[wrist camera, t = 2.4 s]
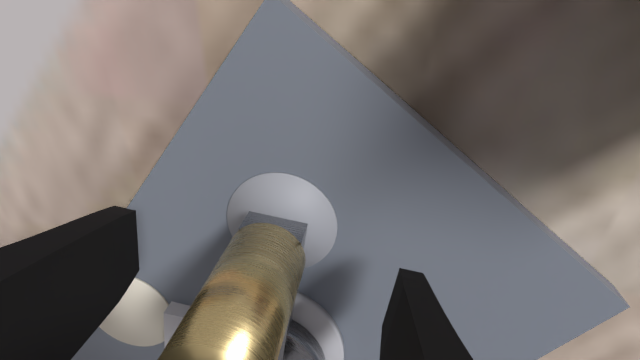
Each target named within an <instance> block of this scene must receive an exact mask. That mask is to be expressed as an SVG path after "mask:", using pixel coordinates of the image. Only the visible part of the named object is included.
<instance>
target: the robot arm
mask: <svg viewBox="0 0 640 360" xmlns="http://www.w3.org/2000/svg"><path fill="white" fill-rule="evenodd" d="M138 272H139V254H138V237H137V221H136V210H131V209H127V208H122V207H117V206H113V207H109V208H106V209H103V210H100V211H98V212H95V213H92V214H89V215H87V216H84V217H81V218H79V219H76V220H74V221H71V222H69V223H66V224H63V225H61V226H58V227H56V228H53V229H50V230H48V231H45V232H43V233H40V234H37V235H35V236H32V237H29V238H27V239H24V240H21V241H18V242H15V243H12V244H10V245H7V246H4V247H1V248H0V360H71V359H72V358H73V356H74V355H75V354H76V353H77V352H78V351H79V349H80V348H81V347H82V346H83V345H84V343H85V342H86V341H87V340H88V339H89V338H90V336H91V335H92V334H93V333H94V332H95V330H96V329H97V328H98V327H99V326H100V325H101V323H102V322H103V321H104V320H105V319H106V317H107V316H108V315H109V314H110V313H111V311H112V310H113V309H114V308H115V306H116V305H117V304H118V303H119V301H120V300H121V298H122V297H123V295H124V294H125V292H126V291H127V289H128V288H129V286H130V285H131V283H132V281H133V280H134V278H135V277H136V275H137V273H138ZM380 360H473V358H472V357H471V355H470V354H469V352H468V350H467V349H466V347H465V346H464V344H463V342H462V341H461V339H460V338H459V336H458V334H457V333H456V331H455V329H454V328H453V326H452V324H451V323H450V321H449V319H448V317H447V316H446V314H445V312H444V310H443V308H442V307H441V305H440V303H439V301H438V299H437V297H436V296H435V294H434V292H433V290H432V288H431V286H430V284H429V282H428V280H427V279H426V277H425V275H424V274H423V273H421V272H416V271H412V270H407V269H402V268H399V271H398V275H397V278H396V281H395V285H394V288H393V291H392V294H391V298H390V301H389V304H388V308H387V311H386V314H385V317H384V321H383V324H382V333H381V345H380Z"/></svg>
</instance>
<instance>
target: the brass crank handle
mask: <svg viewBox="0 0 640 360" xmlns="http://www.w3.org/2000/svg"><path fill="white" fill-rule="evenodd" d="M307 226H308V224H307V223H302V222H298V221H293V220H288V219H284V218H279V217H274V216H270V215H265V214H260V213H256V212H251V211H249V212H248V214H247V215H246V217H245V218H244V220H243V222H242V223H241V225H240V227H239V228H238V231H237V232H236V234H235V235H234V236H233V238H232V239H231V241H230V243H229V244H228V246H227V248H226V249H225V251H224V252H223V254H222V256H221V257H220V259H219V261H218V262H217V264H216V265H215V267H214V269H213V270H212V272H211V274H210V275H209V277H208V279H207V280H206V282H205V283H204V285H203V287H202V288H201V290H200V292H199V293H198V295H197V296H196V298H195V300H194V301H193V303H192V305H191V306H190V308H189V309H188V311H187V313H186V314H185V316H184V318H183V319H182V321H181V322H180V324H179V326H178V327H177V329H176V331H175V332H174V334H173V335H172V337H171V339H170V340H169V342H168V344H167V345H166V347H165V348H164V350H163V352H162V353H161V355H160V357H159V358H158V360H325V356H324V353H323V350H322V348H321V346H320V345H319V343H318V341H317V340H316V339H315V337H314V336H313V335H312V334H311V333H310V332H309V331H308V330H307V329H306V328H304V327H303V326H302V325H301V324H299V323H298V322H296V321H294V320H293V319H292V317H293V311H294V305H295V299H296V295H297V291H298V288H299V284H300V281H301V278H302V274H303V271H304V267H305V261H306V260H305V253H304V244H305V238H306V232H307Z"/></svg>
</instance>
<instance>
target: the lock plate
mask: <svg viewBox="0 0 640 360" xmlns="http://www.w3.org/2000/svg"><path fill="white" fill-rule="evenodd" d="M127 209H131V210H136V221H137V237H138V254H139V272H138V273H137V275H136V277H135V278H134V280H133V281H132V283H131V285H130V286H129V288H128V289H127V291H126V292H125V294H124V295H123V297H122V298H121V300H120V301H119V303H118V304H117V305H116V306H115V308H114V309H113V310H112V311H111V313H110V314H109V315H108V316H107V317H106V319H105V320H104V321H103V322H102V323H101V325H100V326H99V327H98V328H97V329H96V330H95V332H94V333H93V334H92V335H91V336H90V338H89V339H88V340H87V341H86V342H85V343H84V345H83V346H82V347H81V348H80V349H79V351H78V352H77V353H76V354H75V355H74V356H73V358H72V359H71V360H158V358H159V357H160V355H161V353H162V352H163V350H164V348H165V347H166V345H167V344H168V342H169V340H170V339H171V337H172V335H173V334H174V332H175V331H176V329H177V327H178V326H179V324H180V322H181V321H182V319H183V318H184V316H185V314H186V313H187V311H188V309H189V308H190V306H191V305H192V303H193V301H194V300H195V298H196V296H197V295H198V293H199V292H200V290H201V288H202V287H203V285H204V283H205V282H206V280H207V279H208V277H209V275H210V274H211V272H212V270H213V269H214V267H215V265H216V264H217V262H218V261H219V259H220V257H221V256H222V254H223V252H224V251H225V249H226V248H227V246H228V244H229V243H230V241H231V239H232V238H233V236H234V235H235V234H236V232H237V231H238V228H239V227H240V225H241V223H242V222H243V220H244V218H245V217H246V215H247V214H248V212H249V211H251V212H256V213H260V214H265V215H270V216H274V217H279V218H284V219H288V220H293V221H298V222H302V223H307V224H308V226H307V232H306V238H305V244H304V253H305V260H306V261H305V267H304V271H303V274H302V278H301V281H300V284H299V288H298V291H297V295H296V299H295V305H294V311H293V317H292V319H293V320H294V321H296V322H298V323H299V324H301V325H302V326H303V327H304V328H306V329H307V330H308V331H309V332H310V333H311V334H312V335H313V336H314V337H315V339H316V340H317V341H318V343H319V345H320V346H321V348H322V350H323V353H324V356H325V360H380V345H381V333H382V324H383V321H384V317H385V314H386V311H387V308H388V304H389V301H390V298H391V294H392V291H393V288H394V285H395V281H396V278H397V275H398V271H399V268H402V269H407V270H412V271H416V272H421V273H423V274H424V275H425V277H426V279H427V280H428V282H429V284H430V286H431V288H432V290H433V292H434V294H435V296H436V297H437V299H438V301H439V303H440V305H441V307H442V308H443V310H444V312H445V314H446V316H447V317H448V319H449V321H450V323H451V324H452V326H453V328H454V329H455V331H456V333H457V334H458V336H459V338H460V339H461V341H462V342H463V344H464V346H465V347H466V349H467V350H468V352H469V354H470V355H471V357H472V358H473V360H537V359H539V358H540V357H542V356H544V355H546V354H547V353H549V352H551V351H553V350H555V349H556V348H558V347H560V346H562V345H563V344H565V343H567V342H569V341H570V340H572V339H574V338H576V337H578V336H579V335H581V334H583V333H585V332H586V331H588V330H590V329H592V328H594V327H595V326H597V325H599V324H601V323H602V322H604V321H606V320H608V319H610V318H611V317H613V316H615V315H617V314H618V313H620V312H622V311H624V310H625V309H627V308H629V307H630V306H629V305H628V304H627V303H626V301H625V300H624V299H623V297H622V296H621V295H620V293H619V292H618V291H617V289H616V288H615V287H614V285H612V284H611V283H610V282H609V281H608V280H607V279H606V278H605V277H603V276H602V275H601V274H600V273H599V272H598V271H597V270H595V269H594V268H593V267H592V266H591V265H590V264H589V263H587V262H586V261H585V260H584V259H583V258H582V257H581V256H580V255H578V254H577V253H576V252H575V251H574V250H573V249H572V248H570V247H569V246H568V245H567V244H566V243H565V242H564V241H562V240H561V239H560V238H559V237H558V236H557V235H556V234H554V233H553V232H552V231H551V230H550V229H549V228H548V227H547V226H545V225H544V224H543V223H542V222H541V221H540V220H539V219H537V218H536V217H535V216H534V215H533V214H532V213H531V212H529V211H528V210H527V209H526V208H525V207H524V206H523V205H522V204H520V203H519V202H518V201H517V200H516V199H515V198H514V197H512V196H511V195H510V194H509V193H508V192H507V191H506V190H504V189H503V188H502V187H501V186H500V185H499V184H498V183H497V182H495V181H494V180H493V179H492V178H491V177H490V176H489V175H487V174H486V173H485V172H484V171H483V170H482V169H481V168H479V167H478V166H477V165H476V164H475V163H474V162H473V161H471V160H470V159H469V158H468V157H467V156H466V155H465V154H464V153H462V152H461V151H460V150H459V149H458V148H457V147H456V146H454V145H453V144H452V143H451V142H450V141H449V140H448V139H446V138H445V137H444V136H443V135H442V134H441V133H440V132H439V131H437V130H436V129H435V128H434V127H433V126H432V125H431V124H429V123H428V122H427V121H426V120H425V119H424V118H423V117H421V116H420V115H419V114H418V113H417V112H416V111H415V110H413V109H412V108H411V107H410V106H409V105H408V104H407V103H406V102H404V101H403V100H402V99H401V98H400V97H399V96H398V95H396V94H395V93H394V92H393V91H392V90H391V89H390V88H388V87H387V86H386V85H385V84H384V83H383V82H382V81H381V80H379V79H378V78H377V77H376V76H375V75H374V74H373V73H371V72H370V71H369V70H368V69H367V68H366V67H365V66H363V65H362V64H361V63H360V62H359V61H358V60H357V59H356V58H354V57H353V56H352V55H351V54H350V53H349V52H348V51H346V50H345V49H344V48H343V47H342V46H341V45H340V44H338V43H337V42H336V41H335V40H334V39H333V38H332V37H330V36H329V35H328V34H327V33H326V32H325V31H324V30H323V29H321V28H320V27H319V26H318V25H317V24H316V23H315V22H313V21H312V20H311V19H310V18H309V17H308V16H307V15H305V14H304V13H303V12H302V11H301V10H300V9H299V8H298V7H296V6H295V5H294V4H293V3H292V2H291V1H290V0H264V2H263V3H262V5H261V6H260V8H259V9H258V11H257V12H256V14H255V15H254V17H253V18H252V20H251V21H250V23H249V24H248V26H247V27H246V29H245V30H244V32H243V33H242V35H241V36H240V38H239V39H238V41H237V42H236V44H235V45H234V47H233V48H232V50H231V51H230V53H229V54H228V56H227V58H226V59H225V61H224V62H223V64H222V65H221V67H220V68H219V70H218V71H217V73H216V74H215V76H214V77H213V79H212V80H211V82H210V83H209V85H208V86H207V88H206V89H205V91H204V92H203V94H202V95H201V97H200V98H199V100H198V101H197V103H196V104H195V106H194V107H193V109H192V110H191V112H190V113H189V115H188V116H187V118H186V119H185V121H184V123H183V124H182V126H181V127H180V129H179V130H178V132H177V133H176V135H175V136H174V138H173V139H172V141H171V142H170V144H169V145H168V147H167V148H166V150H165V151H164V153H163V154H162V156H161V157H160V159H159V160H158V162H157V163H156V165H155V166H154V168H153V169H152V171H151V172H150V174H149V175H148V177H147V178H146V180H145V181H144V183H143V184H142V186H141V188H140V189H139V191H138V192H137V194H136V195H135V197H134V198H133V200H132V201H131V203H130V204H129V206H128V207H127Z"/></svg>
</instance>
